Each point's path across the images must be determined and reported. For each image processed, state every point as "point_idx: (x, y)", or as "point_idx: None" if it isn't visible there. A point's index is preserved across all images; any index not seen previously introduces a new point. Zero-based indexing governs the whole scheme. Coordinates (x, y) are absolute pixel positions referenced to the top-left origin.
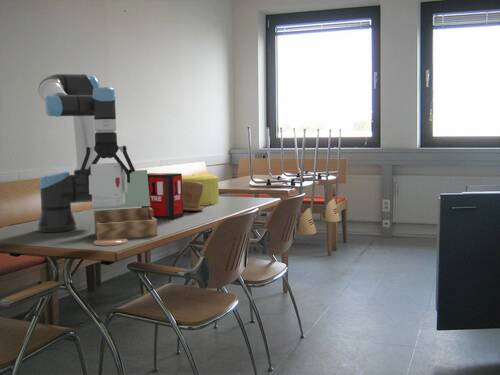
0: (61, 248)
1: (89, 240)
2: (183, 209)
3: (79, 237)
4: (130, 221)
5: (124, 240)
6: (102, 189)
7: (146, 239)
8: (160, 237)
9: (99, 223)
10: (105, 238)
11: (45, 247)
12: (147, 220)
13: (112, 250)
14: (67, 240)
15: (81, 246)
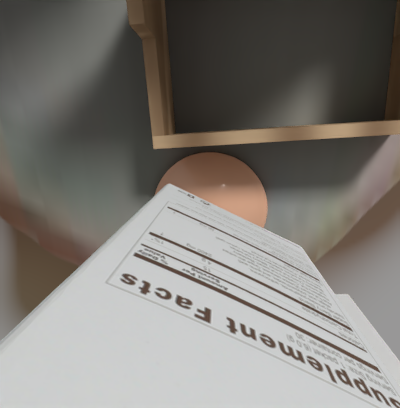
0: (66, 243)
1: (138, 137)
2: None
3: (94, 53)
4: (308, 132)
5: (255, 219)
6: None
7: (334, 195)
8: (393, 175)
9: (163, 136)
10: (193, 155)
11: (14, 209)
12: (393, 132)
13: None
14: (59, 106)
15: None
